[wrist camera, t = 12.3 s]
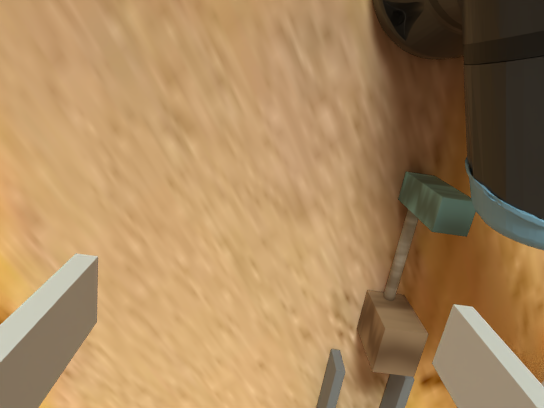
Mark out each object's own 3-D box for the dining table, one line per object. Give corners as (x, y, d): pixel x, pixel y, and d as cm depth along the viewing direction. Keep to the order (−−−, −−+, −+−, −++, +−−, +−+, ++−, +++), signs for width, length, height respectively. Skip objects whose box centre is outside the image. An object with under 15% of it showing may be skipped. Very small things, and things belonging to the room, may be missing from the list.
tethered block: (399, 170, 45) (435, 196, 36) (440, 176, 46) (486, 203, 36) (357, 328, 52) (377, 385, 43) (392, 333, 53) (420, 390, 43)
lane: (331, 349, 53) (336, 370, 49) (403, 358, 54) (414, 379, 50) (311, 425, 58) (315, 450, 54) (379, 433, 58) (387, 458, 55)
